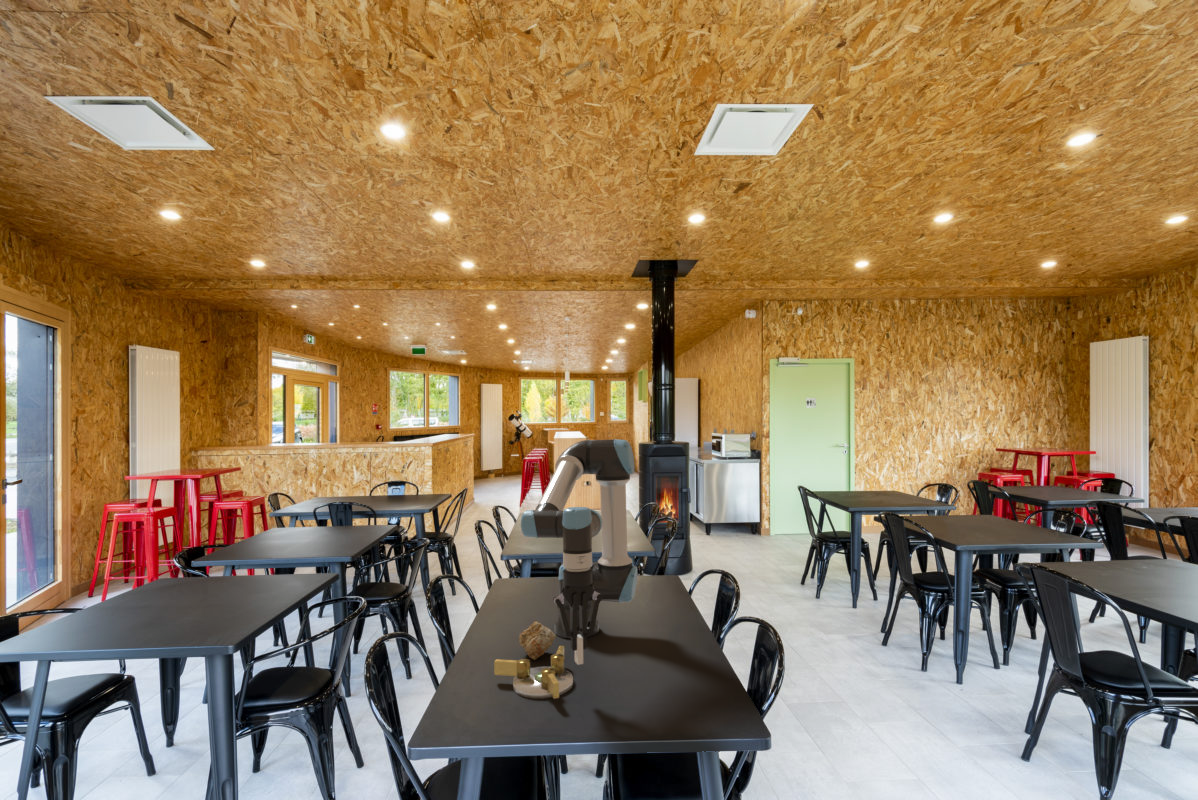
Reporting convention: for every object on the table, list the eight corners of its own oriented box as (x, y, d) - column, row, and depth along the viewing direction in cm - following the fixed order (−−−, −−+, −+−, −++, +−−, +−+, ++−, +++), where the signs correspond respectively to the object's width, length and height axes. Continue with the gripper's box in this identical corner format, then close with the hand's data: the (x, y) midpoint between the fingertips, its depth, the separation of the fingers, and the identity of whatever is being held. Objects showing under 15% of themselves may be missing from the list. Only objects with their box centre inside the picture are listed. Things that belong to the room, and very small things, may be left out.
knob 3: (563, 673, 156) (562, 658, 157) (549, 673, 157) (549, 658, 157) (568, 659, 166) (568, 645, 166) (555, 659, 167) (555, 645, 167)
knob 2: (539, 684, 150) (539, 668, 150) (553, 682, 151) (552, 666, 152) (549, 700, 141) (549, 684, 141) (563, 698, 142) (563, 681, 142)
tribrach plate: (500, 686, 153) (500, 674, 153) (543, 667, 165) (543, 656, 166) (542, 704, 143) (542, 691, 143) (585, 682, 155) (585, 670, 155)
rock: (559, 652, 177) (559, 619, 177) (546, 665, 167) (545, 630, 167) (524, 648, 180) (524, 616, 181) (509, 661, 171) (508, 626, 171)
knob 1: (531, 674, 157) (531, 659, 157) (527, 679, 153) (527, 664, 153) (497, 672, 158) (497, 657, 159) (492, 677, 155) (492, 662, 155)
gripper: (557, 573, 143) (558, 671, 141) (606, 569, 147) (607, 664, 145) (549, 567, 150) (550, 660, 148) (596, 563, 154) (598, 653, 152)
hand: (578, 662), depth 147 cm, fingers closed
